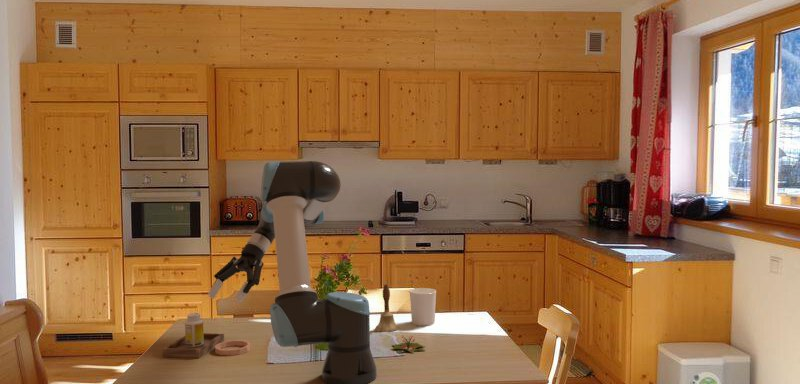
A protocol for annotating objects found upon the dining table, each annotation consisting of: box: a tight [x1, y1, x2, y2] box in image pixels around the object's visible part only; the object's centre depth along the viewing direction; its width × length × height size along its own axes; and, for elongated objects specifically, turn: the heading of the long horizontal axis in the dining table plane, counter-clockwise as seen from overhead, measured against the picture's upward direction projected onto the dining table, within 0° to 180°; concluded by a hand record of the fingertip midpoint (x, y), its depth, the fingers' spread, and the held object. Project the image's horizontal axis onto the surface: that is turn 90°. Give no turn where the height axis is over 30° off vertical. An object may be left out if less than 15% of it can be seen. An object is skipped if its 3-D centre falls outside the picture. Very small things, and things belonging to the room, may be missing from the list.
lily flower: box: [390, 335, 426, 354], centre depth 199 cm, size 12×12×5 cm
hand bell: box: [375, 284, 400, 333], centre depth 222 cm, size 8×8×16 cm
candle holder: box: [409, 287, 437, 327], centre depth 229 cm, size 10×10×12 cm
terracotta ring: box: [214, 339, 251, 356], centre depth 199 cm, size 11×11×2 cm
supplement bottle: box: [184, 312, 205, 348], centre depth 201 cm, size 6×6×10 cm
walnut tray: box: [162, 332, 225, 359], centre depth 201 cm, size 18×12×2 cm, turn 171°
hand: (223, 298), depth 211 cm, fingers open, 13 cm apart
